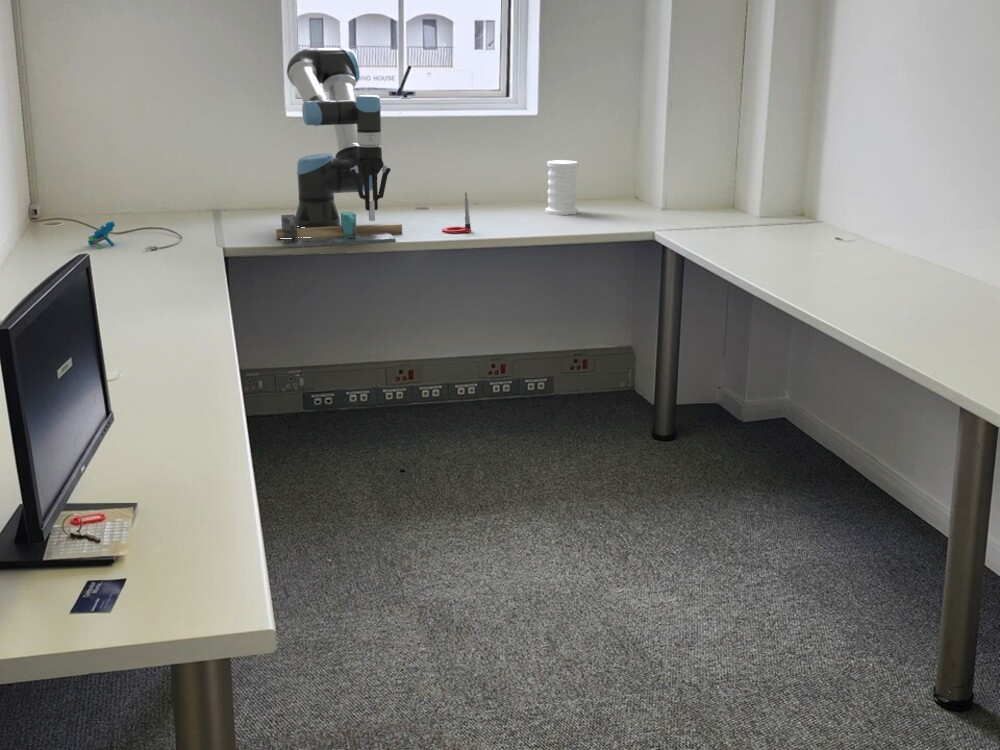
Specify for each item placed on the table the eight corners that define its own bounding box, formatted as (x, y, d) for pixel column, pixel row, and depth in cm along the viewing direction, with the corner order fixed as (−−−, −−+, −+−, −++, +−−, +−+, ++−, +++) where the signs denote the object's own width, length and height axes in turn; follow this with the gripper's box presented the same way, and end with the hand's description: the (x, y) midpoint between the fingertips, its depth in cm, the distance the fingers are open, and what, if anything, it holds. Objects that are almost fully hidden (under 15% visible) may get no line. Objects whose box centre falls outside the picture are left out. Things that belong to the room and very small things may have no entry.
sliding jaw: (341, 231, 363) (340, 212, 361) (353, 230, 364) (352, 211, 362) (348, 238, 352) (347, 218, 350) (360, 237, 353) (360, 218, 351)
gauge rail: (276, 237, 357) (274, 215, 355) (399, 231, 369) (399, 209, 366) (280, 245, 346) (279, 222, 344) (408, 238, 357) (407, 215, 355)
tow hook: (441, 234, 366) (469, 234, 366) (438, 195, 362) (467, 194, 362) (443, 230, 374) (471, 229, 374) (441, 191, 370) (469, 190, 370)
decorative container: (574, 215, 399) (575, 164, 394) (542, 214, 402) (543, 163, 396) (579, 210, 410) (581, 160, 404) (548, 209, 412) (549, 159, 407)
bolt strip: (282, 242, 351) (282, 238, 350) (389, 236, 360) (389, 233, 360) (285, 247, 342) (285, 244, 342) (395, 241, 352) (395, 238, 352)
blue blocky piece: (102, 236, 350) (117, 215, 345) (116, 250, 350) (130, 229, 345) (78, 247, 341) (93, 226, 335) (92, 261, 341) (107, 241, 336)
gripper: (350, 147, 350) (353, 223, 357) (392, 146, 353) (394, 221, 360) (347, 145, 357) (350, 219, 364) (387, 144, 360) (389, 217, 367)
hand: (372, 220), depth 362 cm, fingers closed
